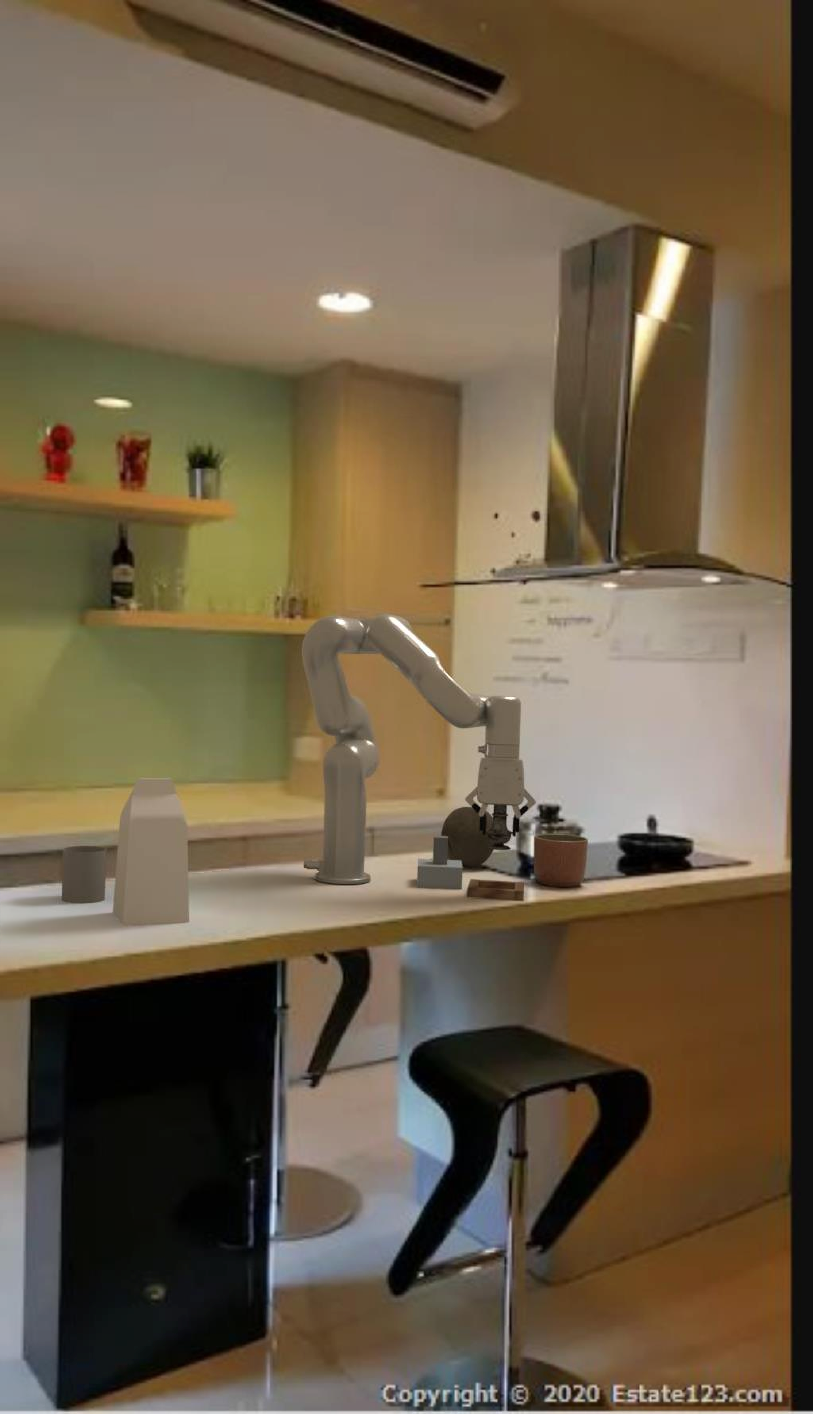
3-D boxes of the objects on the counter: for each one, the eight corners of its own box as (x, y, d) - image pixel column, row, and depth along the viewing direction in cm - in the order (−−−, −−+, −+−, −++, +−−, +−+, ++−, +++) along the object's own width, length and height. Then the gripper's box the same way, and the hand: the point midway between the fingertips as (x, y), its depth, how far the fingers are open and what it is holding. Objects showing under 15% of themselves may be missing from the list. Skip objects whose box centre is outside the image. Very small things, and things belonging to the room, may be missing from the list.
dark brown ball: (498, 873, 272) (501, 811, 271) (440, 871, 272) (442, 809, 271) (494, 863, 286) (497, 805, 285) (439, 861, 286) (441, 802, 285)
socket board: (467, 897, 240) (467, 887, 240) (470, 887, 251) (470, 879, 251) (523, 900, 239) (523, 891, 239) (523, 891, 250) (524, 882, 250)
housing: (416, 888, 250) (418, 839, 249) (417, 880, 260) (419, 832, 259) (461, 890, 249) (463, 840, 249) (460, 881, 259) (462, 834, 259)
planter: (548, 890, 252) (550, 841, 252) (522, 880, 264) (524, 833, 264) (596, 888, 257) (598, 840, 257) (569, 878, 268) (570, 833, 268)
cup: (65, 904, 218) (67, 853, 217) (57, 896, 225) (59, 846, 225) (109, 901, 222) (111, 851, 221) (100, 893, 229) (101, 845, 229)
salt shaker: (510, 851, 241) (512, 795, 241) (483, 849, 242) (485, 793, 242) (513, 847, 247) (515, 792, 247) (487, 845, 248) (489, 791, 248)
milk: (122, 925, 202) (127, 781, 201) (112, 912, 212) (117, 775, 212) (189, 922, 206) (194, 781, 206) (176, 909, 217) (180, 775, 216)
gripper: (461, 751, 241) (458, 835, 242) (542, 755, 240) (539, 839, 240) (463, 749, 249) (460, 830, 249) (541, 752, 247) (538, 834, 247)
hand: (499, 834), depth 245 cm, fingers closed on salt shaker, 5 cm apart
